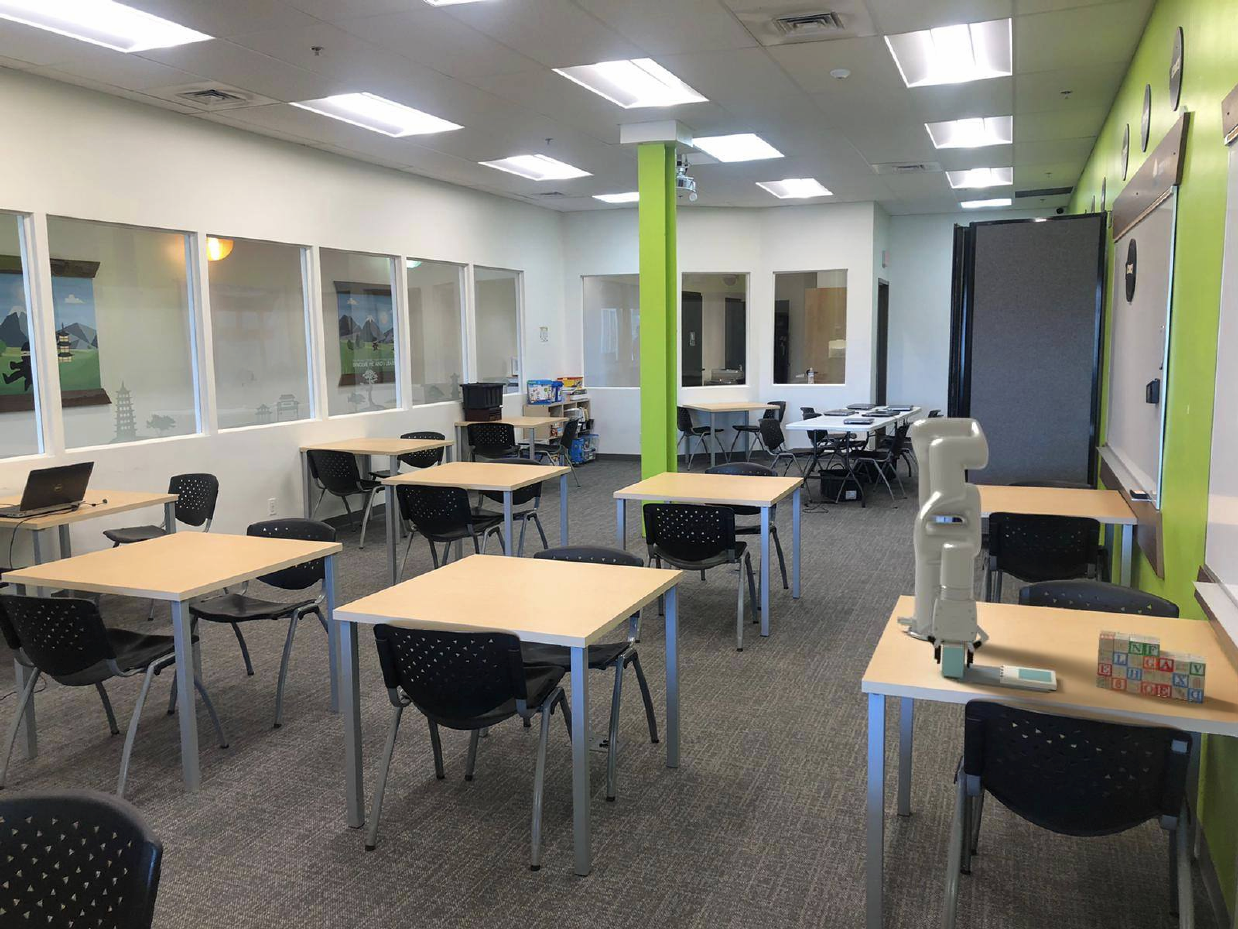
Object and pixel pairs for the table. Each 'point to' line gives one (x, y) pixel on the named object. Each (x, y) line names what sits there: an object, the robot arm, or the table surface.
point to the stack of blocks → (1148, 667)
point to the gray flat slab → (1010, 677)
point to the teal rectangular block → (953, 658)
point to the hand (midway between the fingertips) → (953, 663)
